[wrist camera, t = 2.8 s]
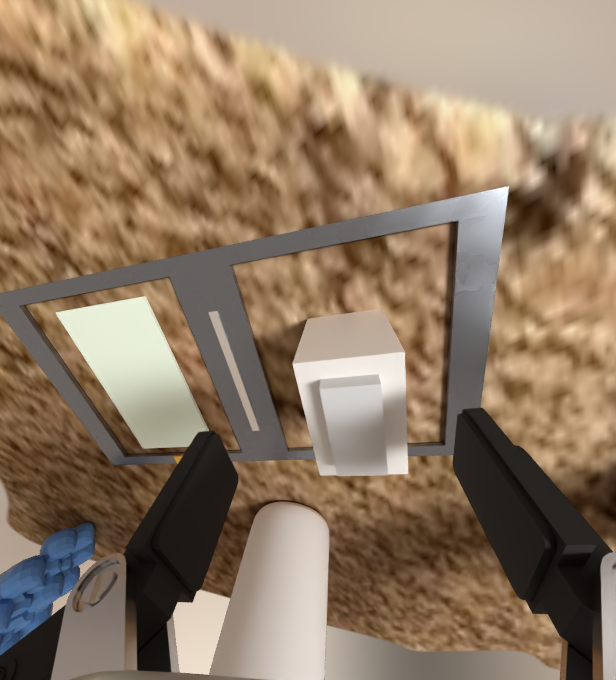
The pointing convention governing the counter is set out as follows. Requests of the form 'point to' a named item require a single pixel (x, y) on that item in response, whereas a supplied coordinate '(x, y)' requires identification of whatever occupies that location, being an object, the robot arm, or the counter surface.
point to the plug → (354, 393)
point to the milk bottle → (278, 599)
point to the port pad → (137, 370)
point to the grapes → (41, 582)
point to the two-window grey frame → (237, 336)
